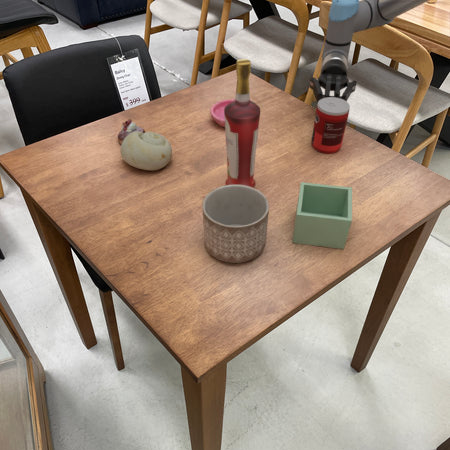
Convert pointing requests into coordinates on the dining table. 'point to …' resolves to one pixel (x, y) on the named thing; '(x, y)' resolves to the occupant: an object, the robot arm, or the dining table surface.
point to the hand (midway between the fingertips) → (330, 113)
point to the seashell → (146, 150)
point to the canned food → (330, 124)
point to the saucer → (220, 111)
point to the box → (323, 215)
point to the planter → (235, 222)
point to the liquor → (241, 130)
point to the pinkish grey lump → (128, 130)
